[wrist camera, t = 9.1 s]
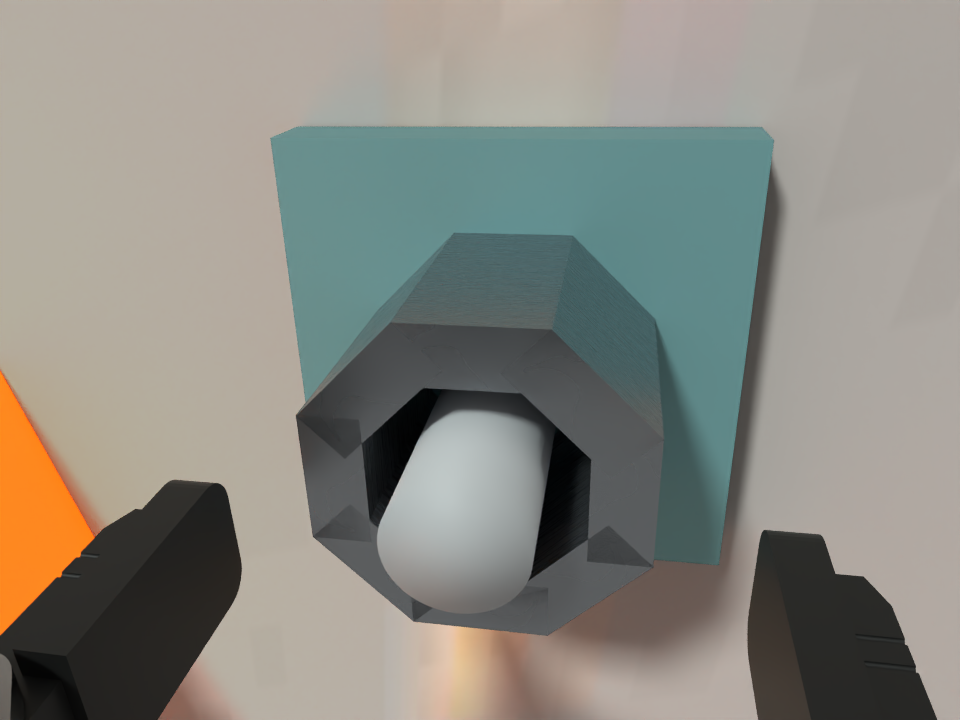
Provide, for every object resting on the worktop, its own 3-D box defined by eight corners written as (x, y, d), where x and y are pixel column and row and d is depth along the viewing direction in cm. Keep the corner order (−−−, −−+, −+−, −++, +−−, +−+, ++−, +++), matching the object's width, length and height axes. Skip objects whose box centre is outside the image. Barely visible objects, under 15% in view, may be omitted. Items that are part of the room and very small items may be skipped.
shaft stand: (761, 127, 16) (866, 238, 9) (712, 527, 20) (758, 819, 13) (297, 126, 18) (75, 220, 11) (341, 497, 22) (203, 742, 15)
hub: (661, 236, 16) (673, 334, 11) (642, 487, 18) (647, 646, 14) (373, 230, 17) (281, 318, 12) (393, 468, 19) (323, 612, 15)
